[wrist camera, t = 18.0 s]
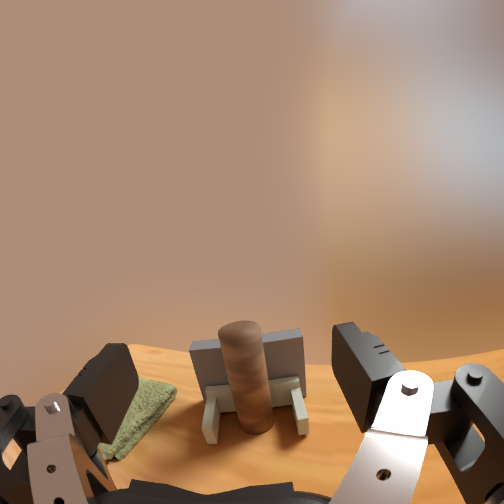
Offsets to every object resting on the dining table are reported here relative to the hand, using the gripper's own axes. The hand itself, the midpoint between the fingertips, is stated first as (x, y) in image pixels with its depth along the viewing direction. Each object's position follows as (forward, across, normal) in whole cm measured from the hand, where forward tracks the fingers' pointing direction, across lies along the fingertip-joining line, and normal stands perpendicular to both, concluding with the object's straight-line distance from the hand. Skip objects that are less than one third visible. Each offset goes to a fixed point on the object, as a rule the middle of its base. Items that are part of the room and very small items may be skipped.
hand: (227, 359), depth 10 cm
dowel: (+16, 0, +22) cm, 27 cm away
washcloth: (+18, +20, +23) cm, 35 cm away
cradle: (+16, 0, +21) cm, 27 cm away
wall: (+21, 0, +22) cm, 30 cm away
